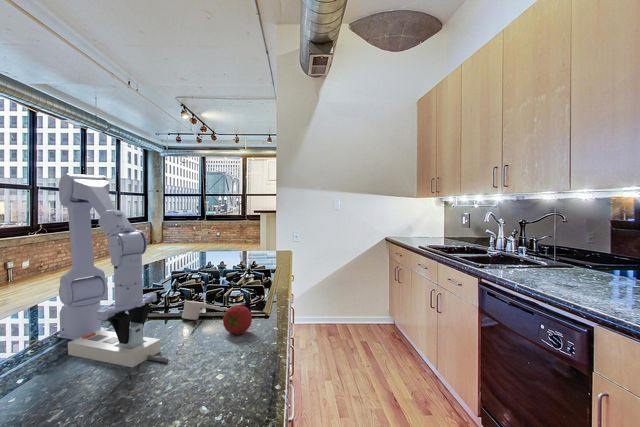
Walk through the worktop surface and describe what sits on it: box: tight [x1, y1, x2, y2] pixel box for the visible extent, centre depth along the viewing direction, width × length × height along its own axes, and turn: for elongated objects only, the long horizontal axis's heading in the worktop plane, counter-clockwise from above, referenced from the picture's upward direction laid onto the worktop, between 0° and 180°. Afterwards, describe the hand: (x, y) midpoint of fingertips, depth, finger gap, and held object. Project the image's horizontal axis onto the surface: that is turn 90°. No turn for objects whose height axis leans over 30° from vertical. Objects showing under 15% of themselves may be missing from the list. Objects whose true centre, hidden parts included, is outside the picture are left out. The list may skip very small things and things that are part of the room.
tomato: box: [222, 304, 253, 336], centre depth 90 cm, size 8×8×8 cm
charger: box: [119, 322, 144, 349], centre depth 77 cm, size 4×3×6 cm
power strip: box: [67, 330, 170, 368], centre depth 78 cm, size 26×8×4 cm, turn 72°
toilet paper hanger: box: [181, 300, 229, 320], centre depth 106 cm, size 20×5×16 cm
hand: (130, 339), depth 77 cm, fingers closed on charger, 3 cm apart
